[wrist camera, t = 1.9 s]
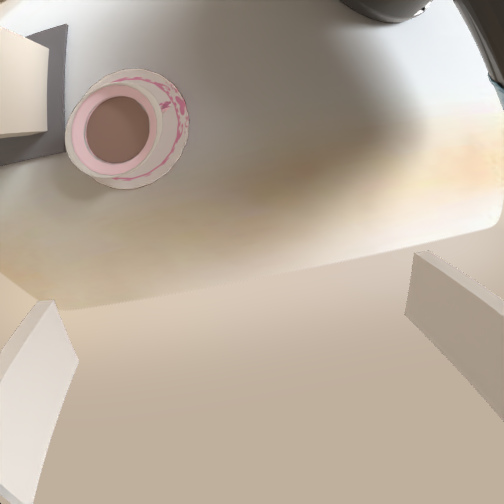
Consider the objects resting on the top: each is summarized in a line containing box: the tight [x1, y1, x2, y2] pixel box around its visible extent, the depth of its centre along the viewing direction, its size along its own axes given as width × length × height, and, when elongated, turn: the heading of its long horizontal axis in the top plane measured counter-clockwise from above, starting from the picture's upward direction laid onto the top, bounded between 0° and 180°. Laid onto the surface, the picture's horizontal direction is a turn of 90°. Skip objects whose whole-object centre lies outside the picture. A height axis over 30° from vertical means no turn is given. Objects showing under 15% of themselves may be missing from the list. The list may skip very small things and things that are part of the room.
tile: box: [0, 26, 49, 138], centre depth 18 cm, size 9×3×10 cm, turn 1°
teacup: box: [65, 69, 189, 189], centre depth 24 cm, size 12×12×6 cm
